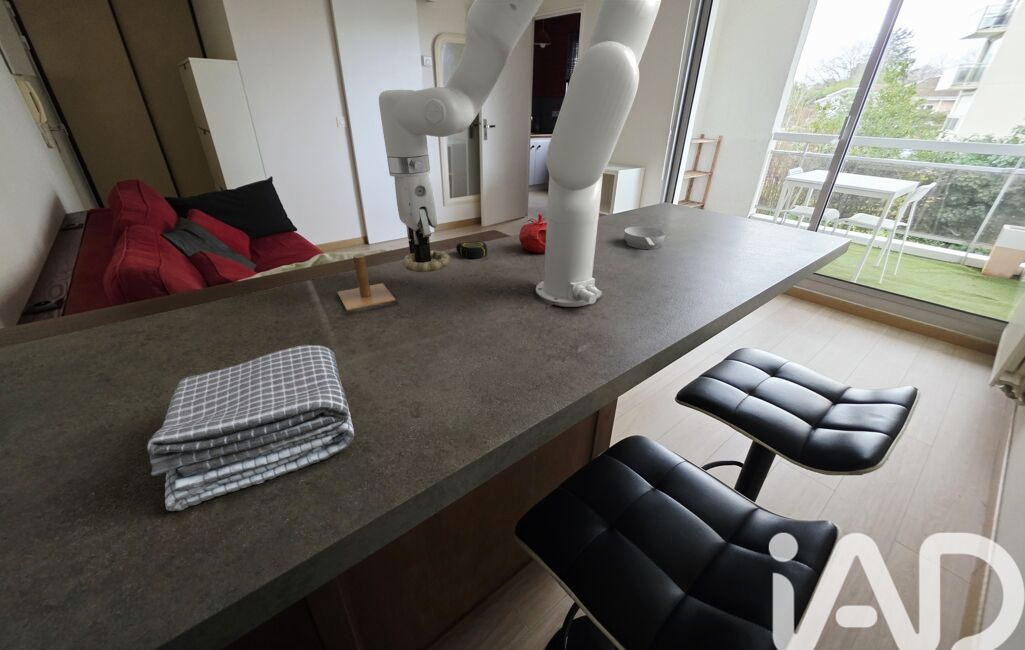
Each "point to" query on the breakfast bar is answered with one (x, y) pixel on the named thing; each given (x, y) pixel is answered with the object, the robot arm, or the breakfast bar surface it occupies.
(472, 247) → the tape measure
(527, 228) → the pomegranate
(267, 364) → the towel
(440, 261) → the beige beaded ring
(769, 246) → the breakfast bar surface
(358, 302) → the ring toss peg
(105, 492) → the breakfast bar surface
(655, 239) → the small pan
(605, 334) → the breakfast bar surface
